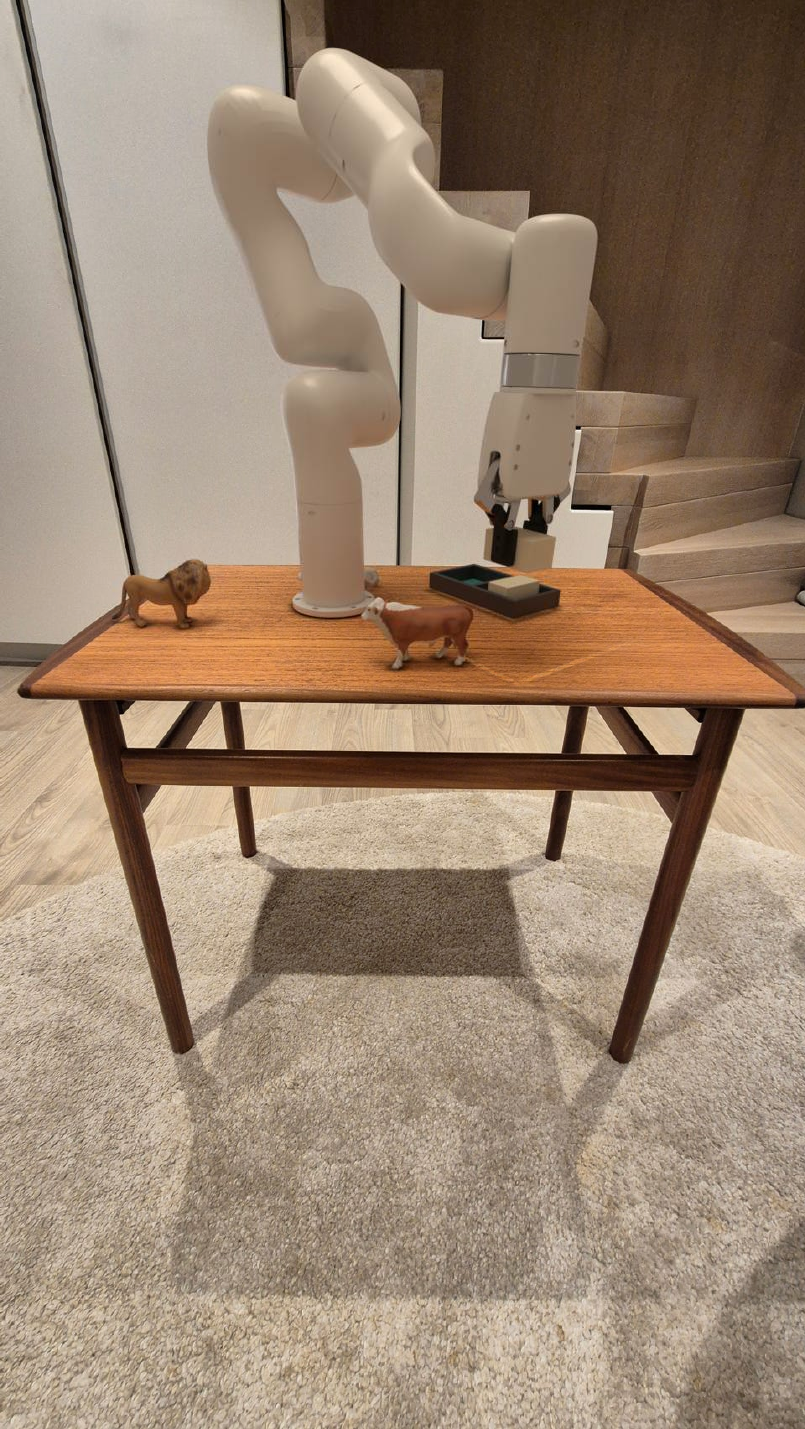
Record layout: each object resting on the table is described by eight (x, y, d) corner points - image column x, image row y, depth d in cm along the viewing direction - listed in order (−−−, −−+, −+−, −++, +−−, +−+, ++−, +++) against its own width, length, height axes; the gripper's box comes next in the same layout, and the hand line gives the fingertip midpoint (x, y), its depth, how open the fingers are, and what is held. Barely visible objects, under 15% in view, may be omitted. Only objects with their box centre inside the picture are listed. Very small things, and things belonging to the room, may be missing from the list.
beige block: (486, 604, 92) (488, 581, 90) (518, 596, 96) (520, 574, 94) (505, 611, 89) (507, 588, 88) (537, 602, 93) (540, 580, 91)
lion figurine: (221, 616, 88) (212, 554, 83) (212, 629, 83) (202, 564, 79) (119, 617, 87) (105, 554, 83) (104, 629, 82) (89, 564, 78)
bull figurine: (362, 656, 75) (360, 593, 71) (468, 654, 76) (472, 591, 72) (362, 671, 71) (361, 604, 67) (474, 668, 72) (479, 603, 68)
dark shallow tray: (512, 622, 87) (514, 601, 85) (429, 590, 100) (429, 572, 99) (558, 609, 92) (561, 590, 90) (473, 581, 105) (474, 563, 104)
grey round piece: (359, 584, 103) (359, 566, 102) (381, 584, 103) (381, 567, 102) (357, 590, 100) (357, 572, 99) (379, 590, 100) (379, 572, 98)
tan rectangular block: (527, 573, 65) (531, 541, 63) (482, 559, 70) (485, 528, 68) (551, 568, 67) (556, 536, 65) (507, 554, 72) (510, 525, 70)
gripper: (564, 378, 66) (541, 545, 75) (450, 374, 58) (439, 563, 67) (622, 380, 61) (590, 558, 70) (505, 375, 52) (486, 580, 61)
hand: (517, 559), depth 68 cm, fingers closed on tan rectangular block, 4 cm apart
